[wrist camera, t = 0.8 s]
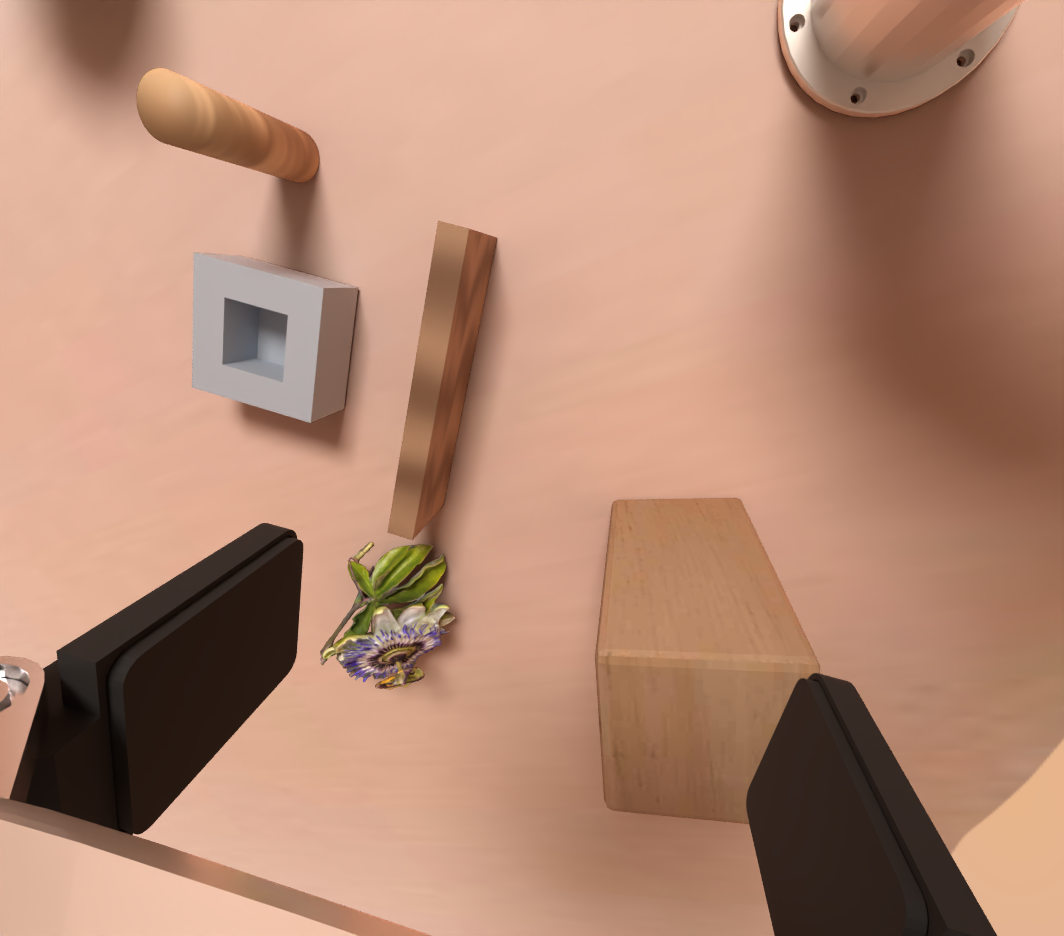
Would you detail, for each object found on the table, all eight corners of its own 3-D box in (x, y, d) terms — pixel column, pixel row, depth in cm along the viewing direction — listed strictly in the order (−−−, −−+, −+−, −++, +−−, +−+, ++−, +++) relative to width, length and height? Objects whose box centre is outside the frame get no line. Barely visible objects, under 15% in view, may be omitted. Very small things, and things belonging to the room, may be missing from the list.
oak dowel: (277, 124, 39) (135, 61, 28) (321, 135, 39) (195, 76, 28) (274, 176, 41) (137, 136, 30) (317, 187, 40) (194, 151, 29)
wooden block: (617, 604, 47) (603, 814, 28) (612, 497, 44) (593, 654, 25) (738, 607, 45) (809, 834, 26) (741, 495, 42) (824, 664, 23)
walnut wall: (471, 231, 39) (438, 220, 33) (497, 237, 39) (469, 228, 33) (422, 498, 47) (387, 532, 41) (443, 504, 47) (412, 540, 41)
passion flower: (450, 591, 56) (395, 707, 50) (357, 539, 54) (286, 654, 48) (492, 568, 47) (431, 706, 41) (382, 505, 45) (299, 641, 38)
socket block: (241, 255, 43) (193, 252, 38) (358, 287, 42) (323, 288, 37) (236, 377, 46) (192, 387, 42) (344, 408, 46) (310, 423, 41)
